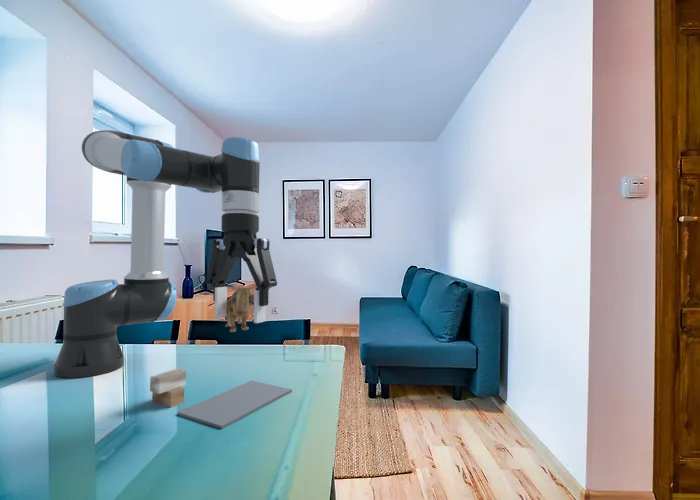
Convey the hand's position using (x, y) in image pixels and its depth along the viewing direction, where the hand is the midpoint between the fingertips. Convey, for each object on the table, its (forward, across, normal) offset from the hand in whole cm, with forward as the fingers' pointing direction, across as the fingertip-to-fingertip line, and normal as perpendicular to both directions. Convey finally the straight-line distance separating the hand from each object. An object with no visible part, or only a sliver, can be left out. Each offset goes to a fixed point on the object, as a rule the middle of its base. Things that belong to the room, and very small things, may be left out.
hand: (239, 319), depth 76 cm
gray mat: (+17, 0, 0) cm, 17 cm away
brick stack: (+17, -13, -7) cm, 23 cm away
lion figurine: (+2, -1, +1) cm, 3 cm away
